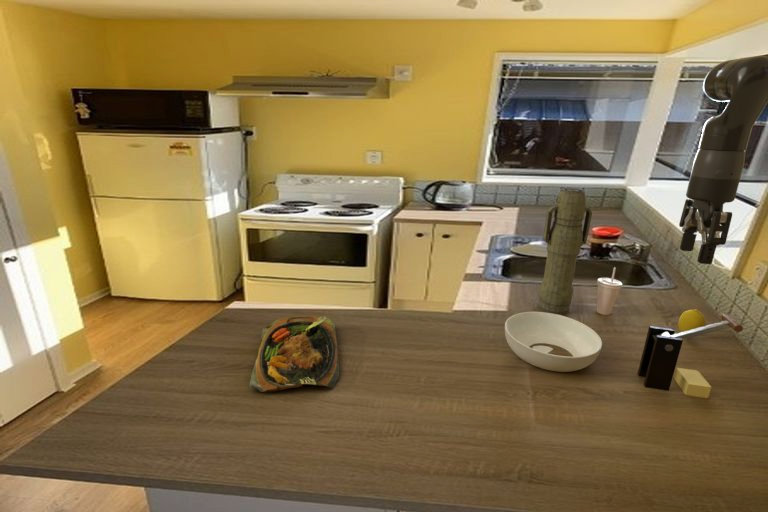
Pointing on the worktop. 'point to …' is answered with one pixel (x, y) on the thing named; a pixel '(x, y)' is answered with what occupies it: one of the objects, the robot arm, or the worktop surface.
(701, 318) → the lemon
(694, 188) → the robot arm
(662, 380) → the slicer
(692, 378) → the butter
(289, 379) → the prepared meal
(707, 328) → the lever
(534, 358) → the serving bowl
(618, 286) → the smoothie
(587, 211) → the thermos
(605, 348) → the worktop surface
